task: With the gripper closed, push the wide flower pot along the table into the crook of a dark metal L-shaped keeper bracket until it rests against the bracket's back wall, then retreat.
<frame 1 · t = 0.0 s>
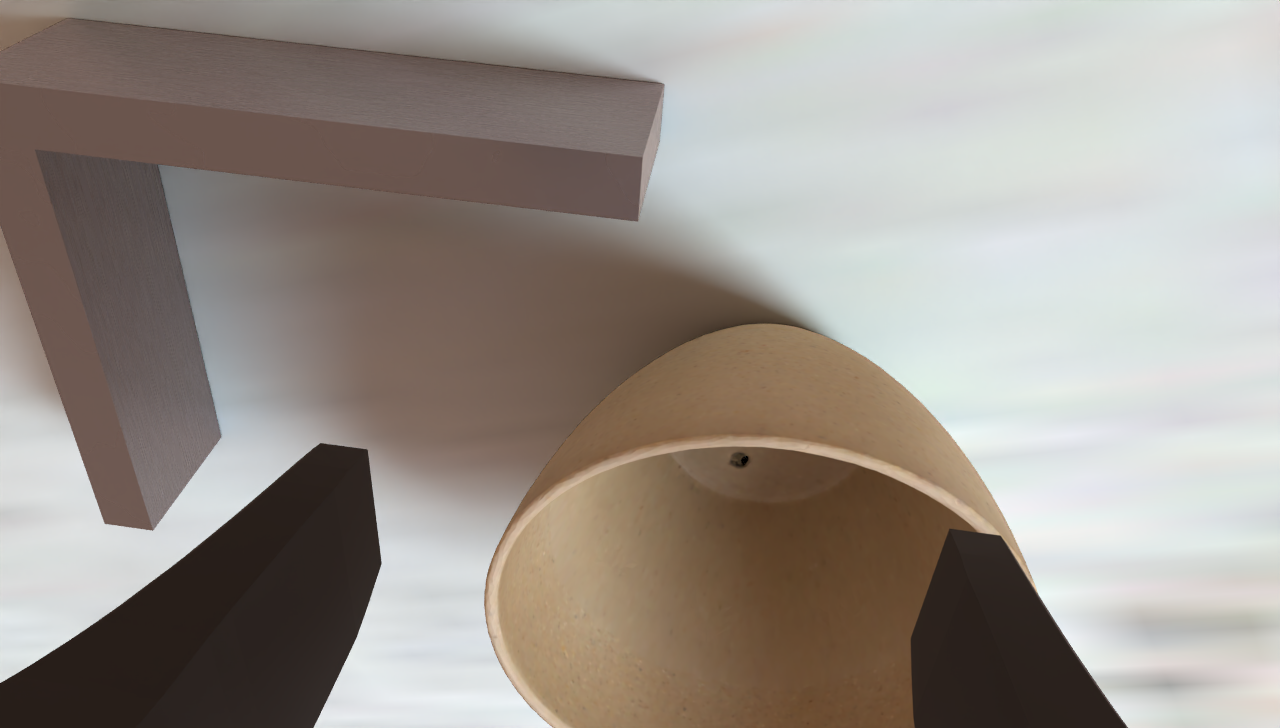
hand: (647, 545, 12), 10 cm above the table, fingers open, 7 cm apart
keeper bracket: (393, 347, 24), on the table
flower pot: (762, 405, 24), on the table
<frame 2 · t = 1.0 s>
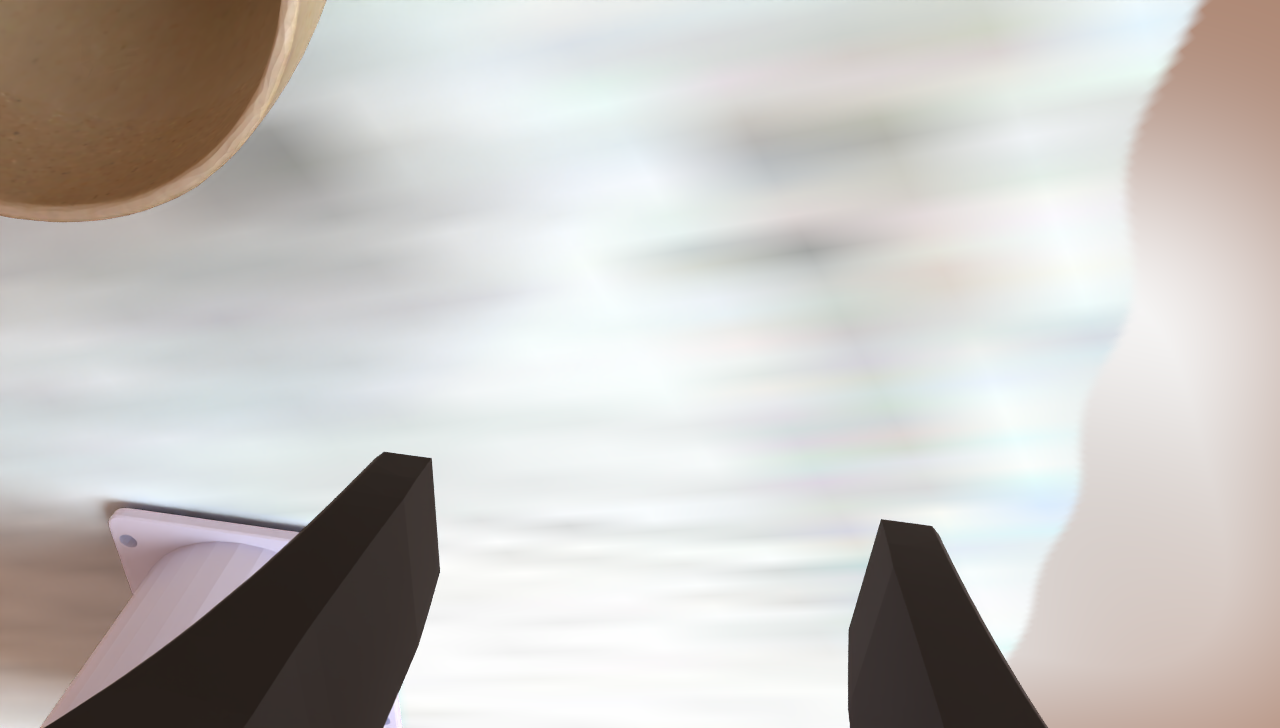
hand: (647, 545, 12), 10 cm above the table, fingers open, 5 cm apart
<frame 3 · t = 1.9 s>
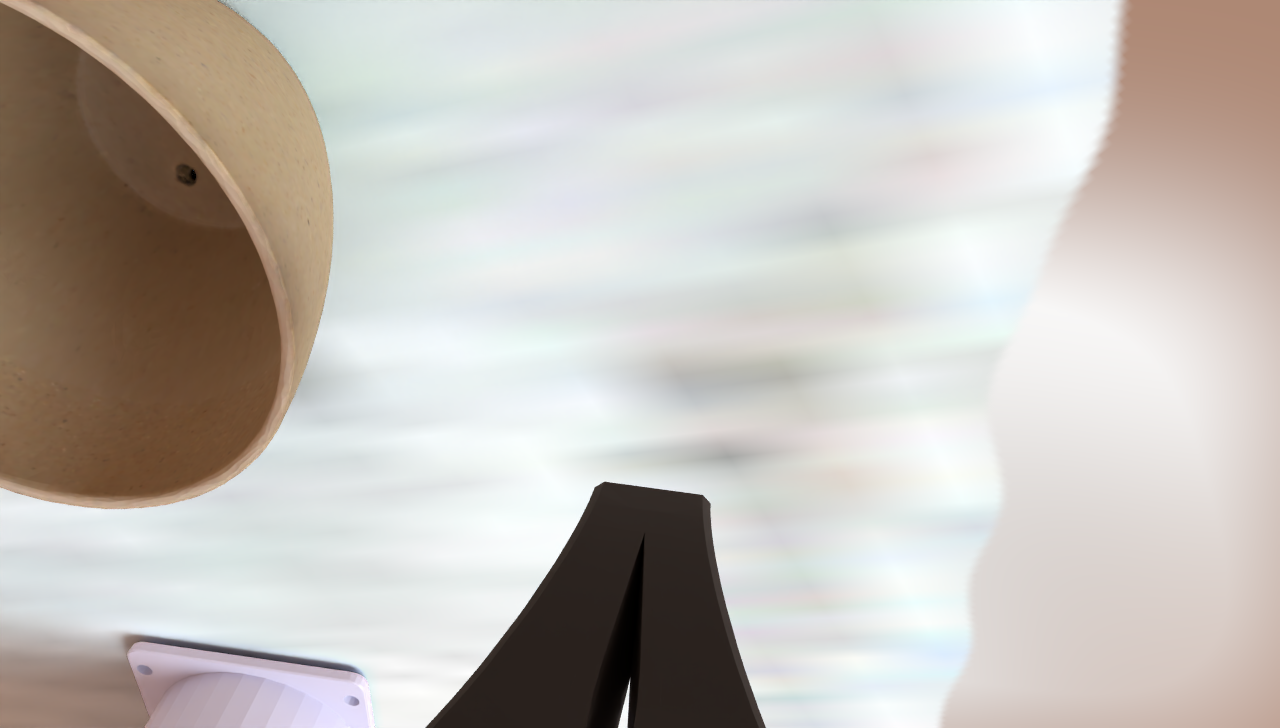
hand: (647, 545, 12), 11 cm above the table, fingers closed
flower pot: (205, 110, 22), on the table
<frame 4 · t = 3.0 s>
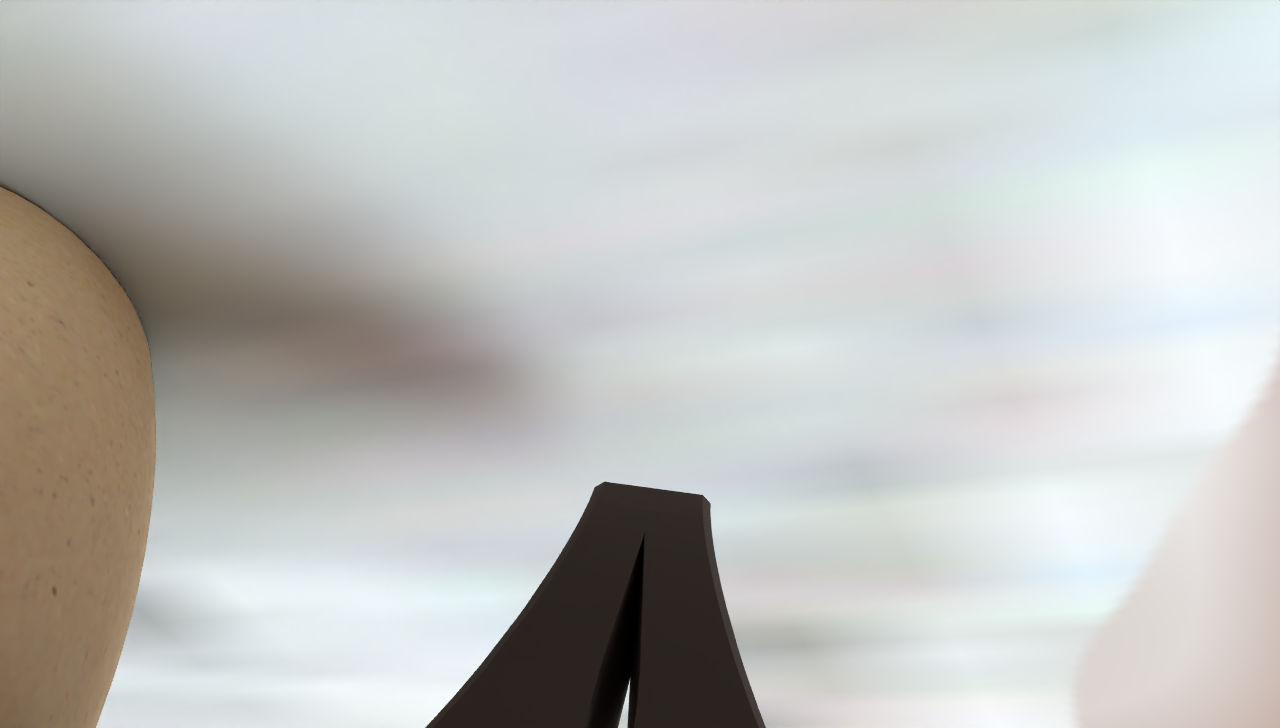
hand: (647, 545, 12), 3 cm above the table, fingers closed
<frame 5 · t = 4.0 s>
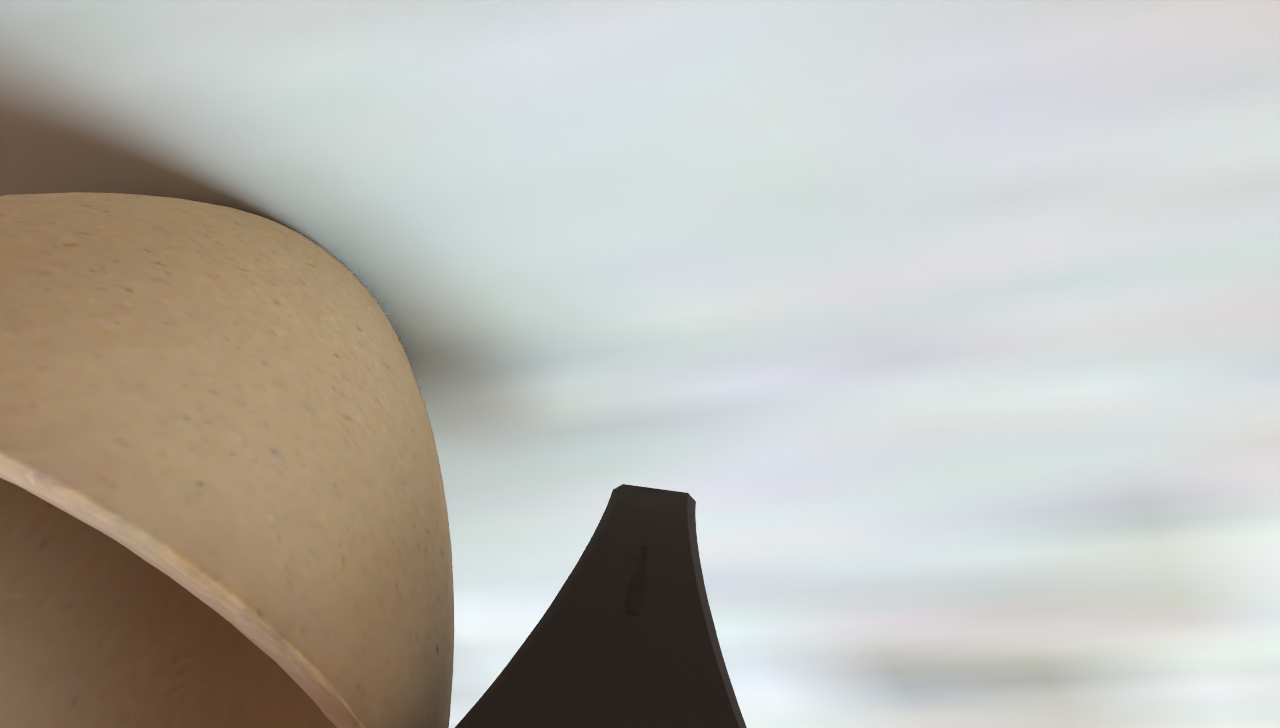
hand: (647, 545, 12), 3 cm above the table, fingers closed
flower pot: (251, 344, 15), on the table, touching gripper
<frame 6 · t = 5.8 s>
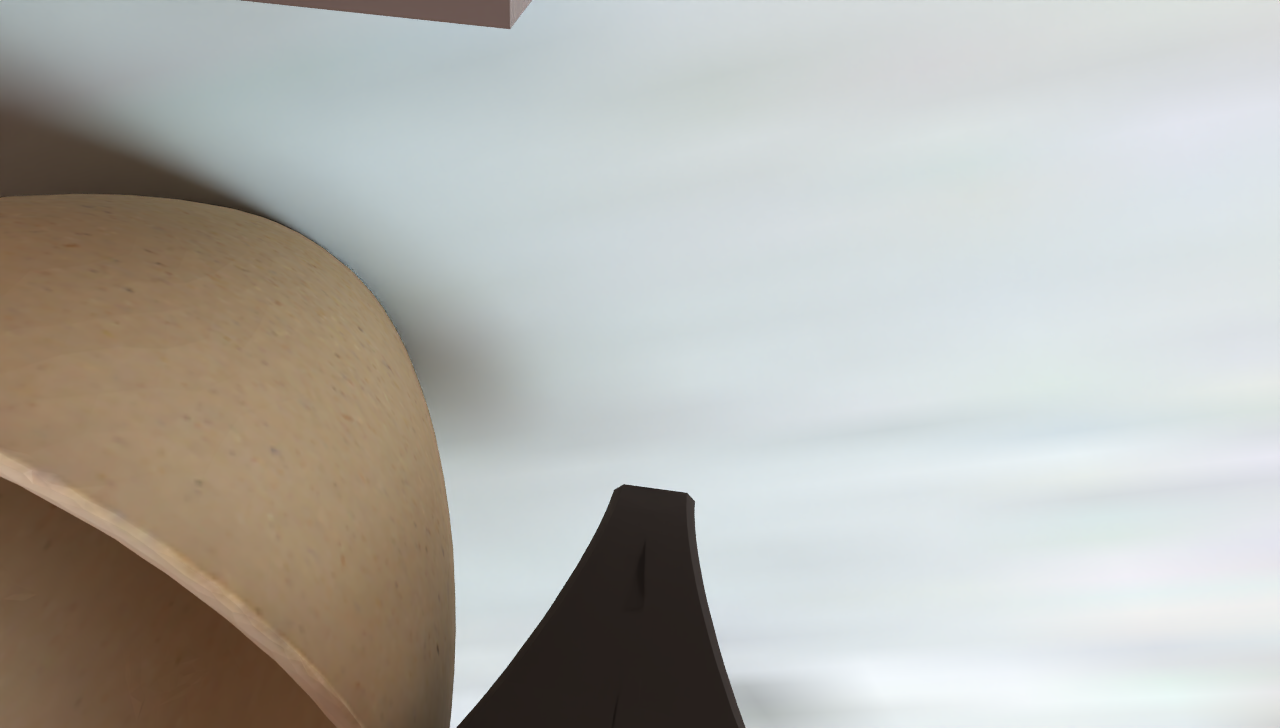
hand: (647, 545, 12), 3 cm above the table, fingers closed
keeper bracket: (177, 316, 15), on the table
flower pot: (254, 345, 15), on the table, touching gripper
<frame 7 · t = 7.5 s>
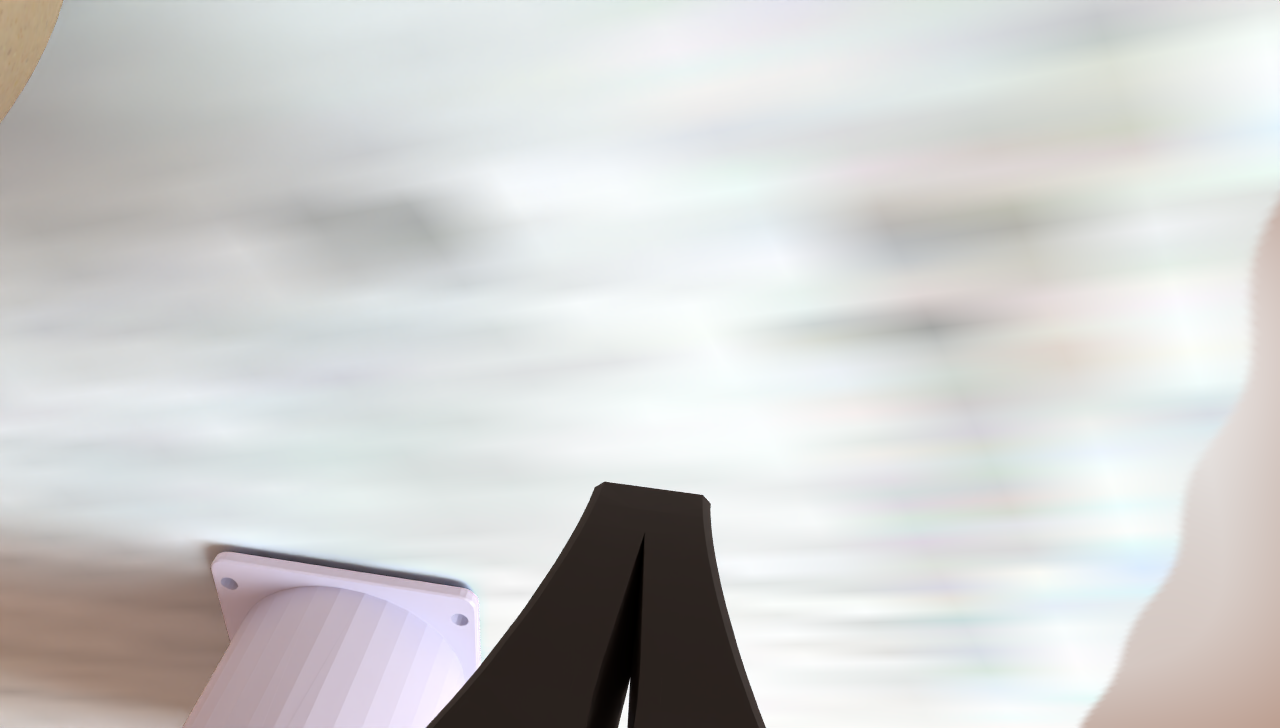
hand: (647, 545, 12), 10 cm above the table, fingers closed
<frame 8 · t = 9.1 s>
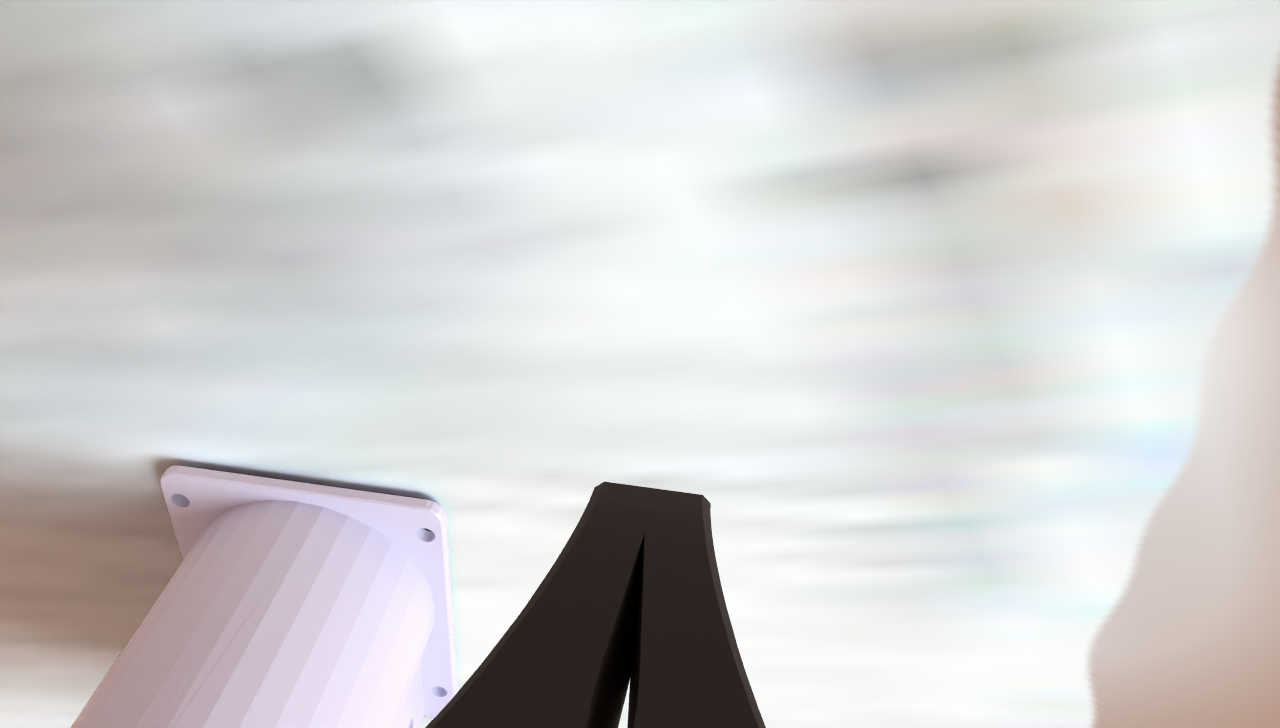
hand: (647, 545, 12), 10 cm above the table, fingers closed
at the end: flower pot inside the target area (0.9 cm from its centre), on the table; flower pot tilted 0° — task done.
